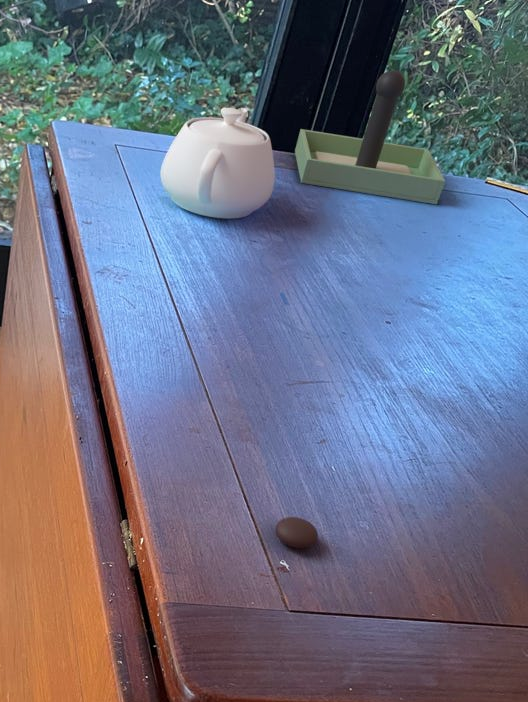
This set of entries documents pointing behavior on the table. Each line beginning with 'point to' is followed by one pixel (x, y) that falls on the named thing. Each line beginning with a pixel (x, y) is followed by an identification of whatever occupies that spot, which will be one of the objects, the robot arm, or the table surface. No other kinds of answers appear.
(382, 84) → the joystick
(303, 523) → the chocolate truffle
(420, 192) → the tray
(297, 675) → the table surface
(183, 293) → the table surface
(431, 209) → the table surface
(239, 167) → the teapot
